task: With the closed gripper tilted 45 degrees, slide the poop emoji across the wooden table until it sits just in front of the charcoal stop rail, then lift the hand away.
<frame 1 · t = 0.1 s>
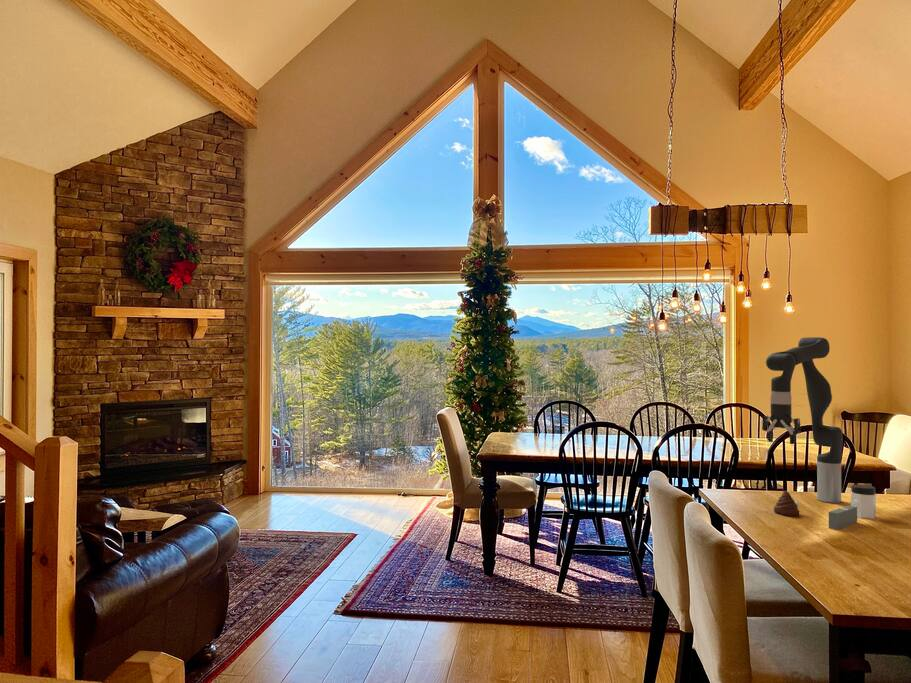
hand: (781, 442, 253), 29 cm above the table, tool pointing down, fingers open, 8 cm apart
stop rail: (843, 525, 239), on the table
jar: (863, 516, 253), on the table
poop emoji: (786, 514, 255), on the table
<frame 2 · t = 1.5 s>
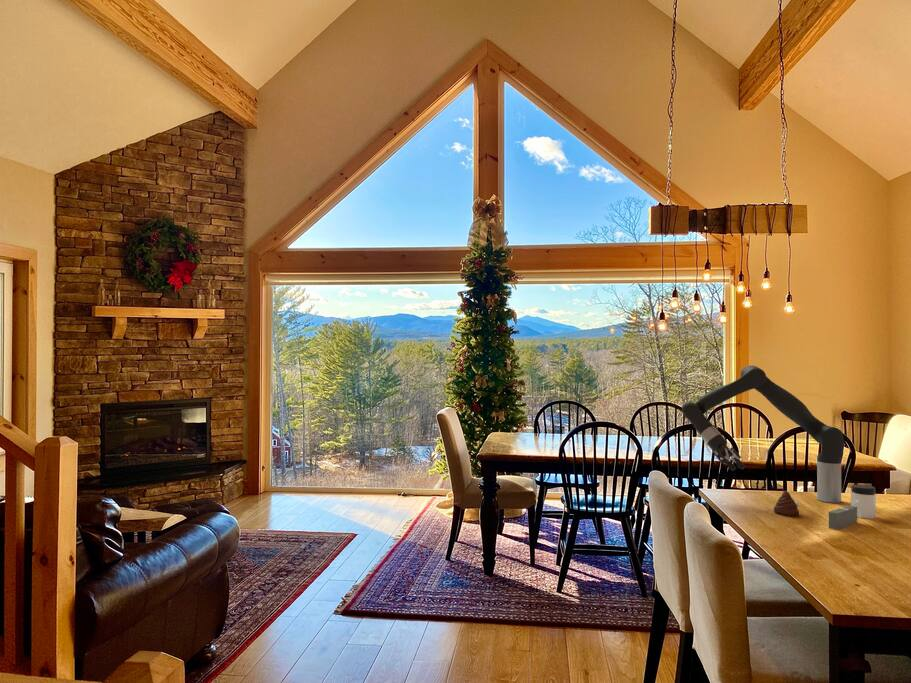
hand: (738, 468, 272), 15 cm above the table, tool tilted 45°, fingers open, 7 cm apart
nothing on the table moved.
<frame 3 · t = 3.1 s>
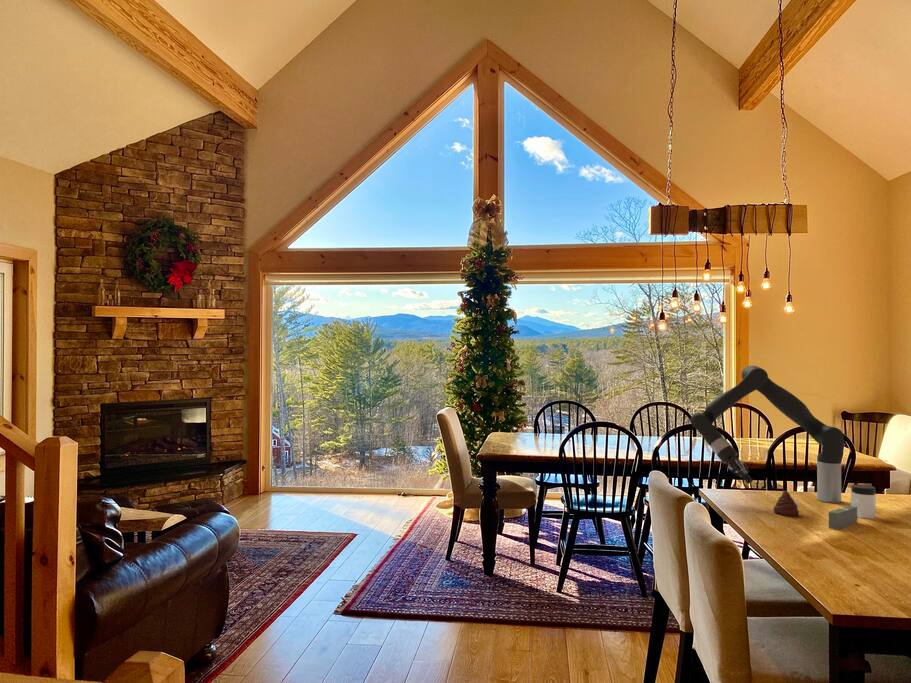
hand: (750, 482, 268), 10 cm above the table, tool tilted 45°, fingers closed
nothing on the table moved.
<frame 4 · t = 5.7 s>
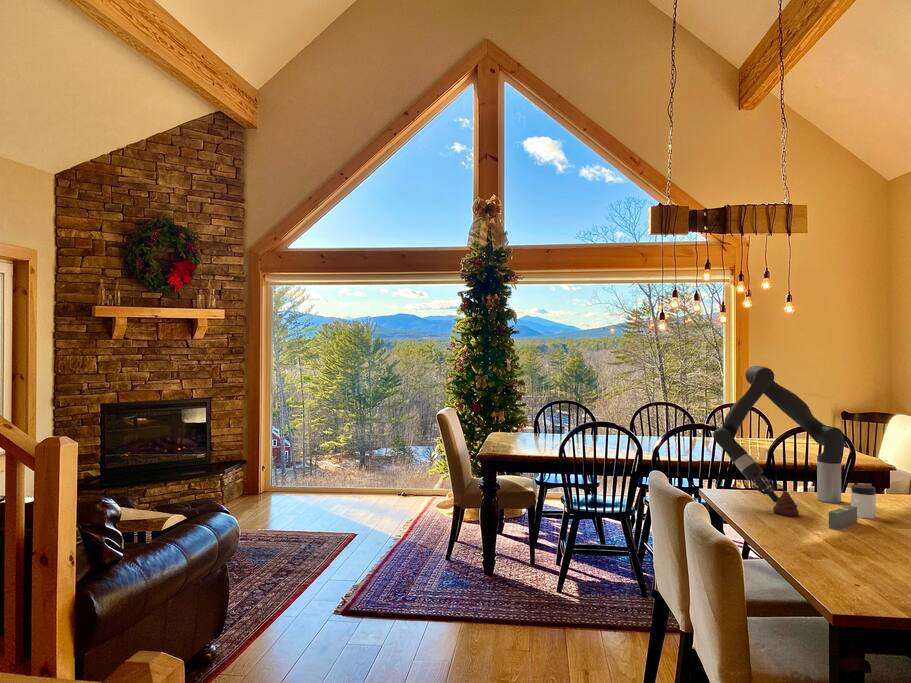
hand: (777, 501, 258), 4 cm above the table, tool tilted 45°, fingers closed
poop emoji: (786, 514, 255), on the table, touching gripper
everything else where it was.
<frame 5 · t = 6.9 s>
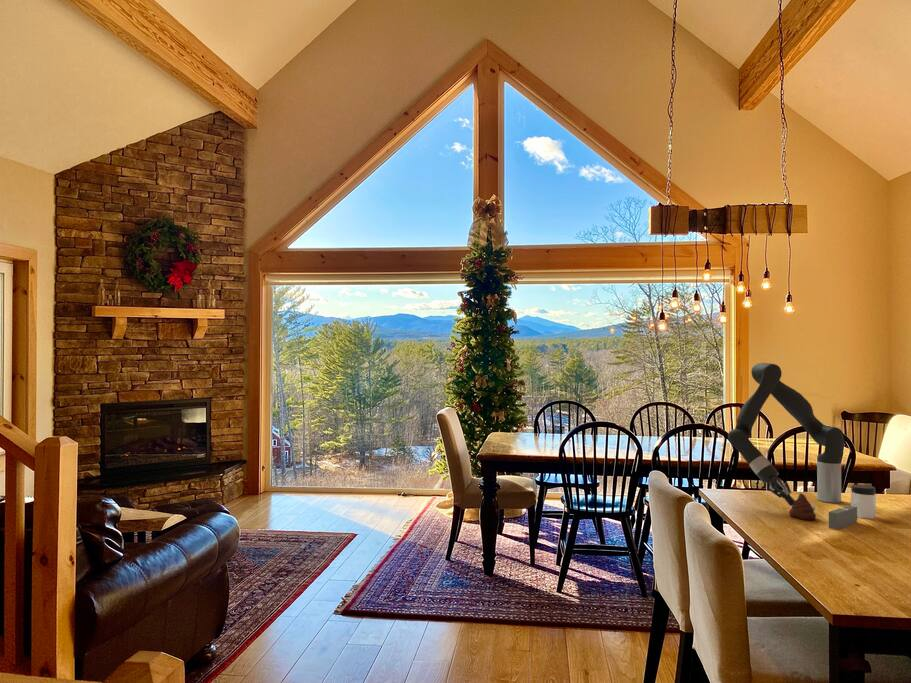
hand: (793, 504, 253), 4 cm above the table, tool tilted 45°, fingers closed
poop emoji: (802, 518, 250), on the table, touching gripper
everything else where it was.
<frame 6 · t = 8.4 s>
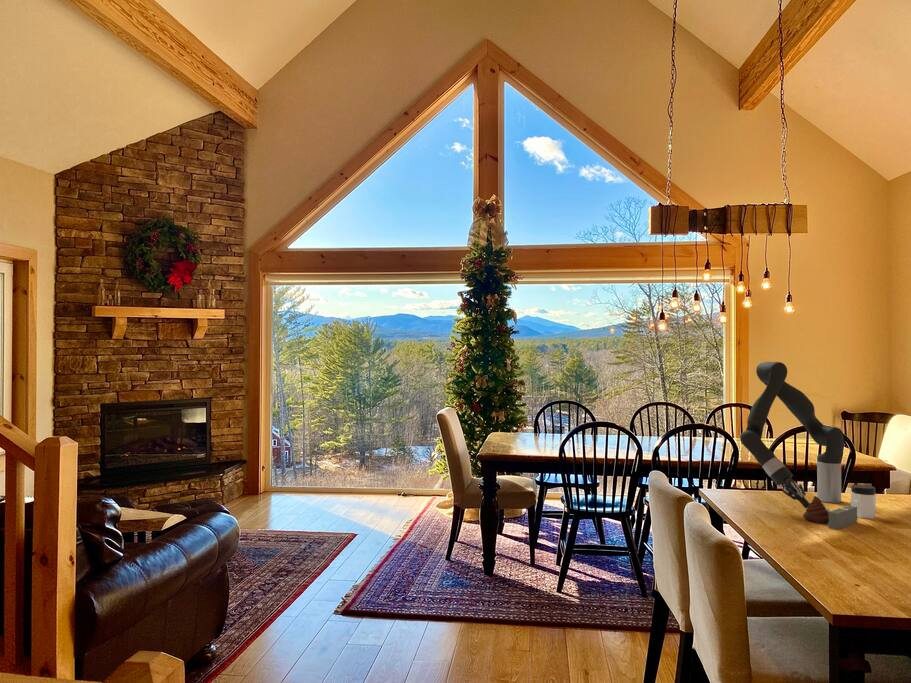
hand: (808, 506, 249), 4 cm above the table, tool tilted 45°, fingers closed
poop emoji: (817, 521, 245), on the table, touching gripper
everything else where it was.
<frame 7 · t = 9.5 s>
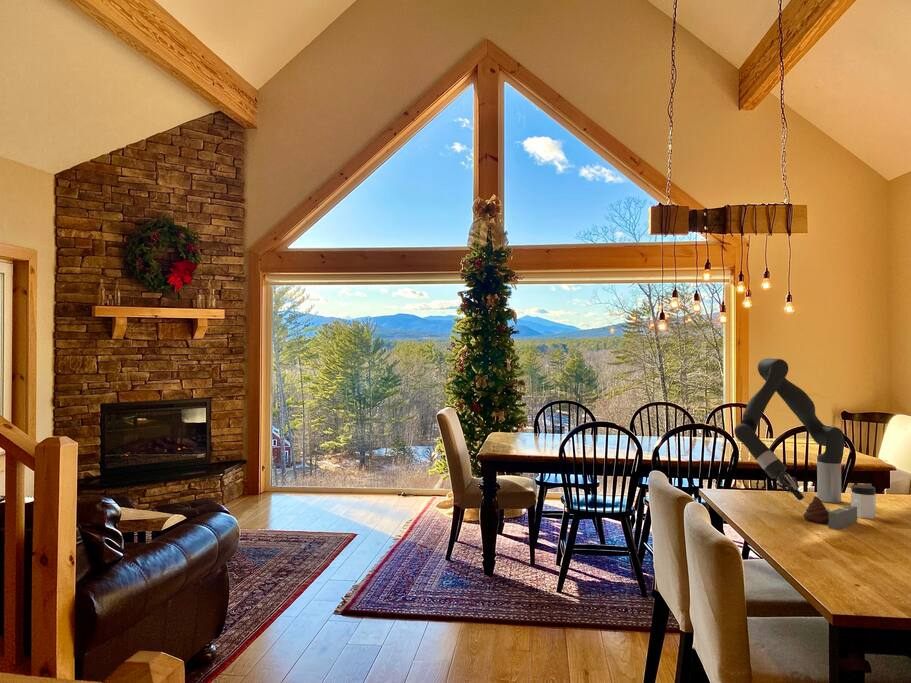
hand: (802, 499, 251), 7 cm above the table, tool tilted 45°, fingers closed
poop emoji: (817, 521, 245), on the table
everything else where it was.
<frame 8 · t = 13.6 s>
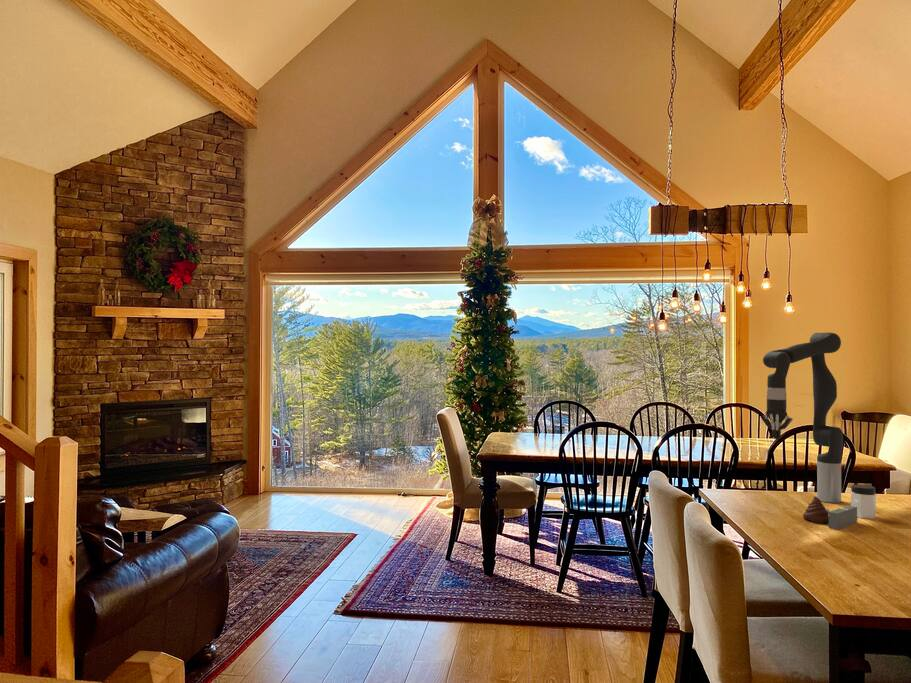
hand: (776, 438, 267), 29 cm above the table, tool pointing down, fingers closed
nothing on the table moved.
at the end: poop emoji inside the target area (2.0 cm from its centre), on the table; poop emoji tilted 0°; the gripper is holding nothing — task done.
